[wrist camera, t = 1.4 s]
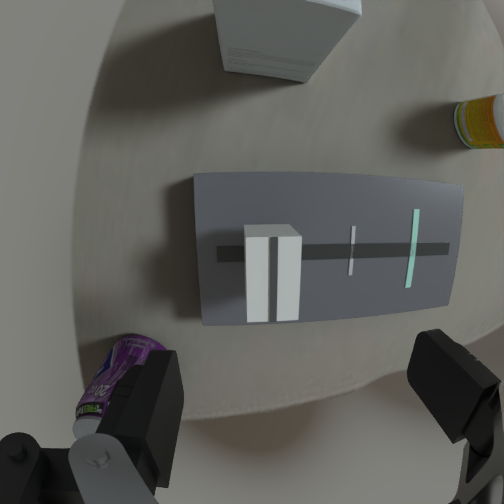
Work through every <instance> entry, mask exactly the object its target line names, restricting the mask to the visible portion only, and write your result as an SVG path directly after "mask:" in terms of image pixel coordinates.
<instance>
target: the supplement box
mask: <svg viewBox="0 0 504 504" xmlns="http://www.w3.org/2000/svg"><path fill="white" fill-rule="evenodd" d="M212 1H213V6H214V12H215V18H216V25H217V32H218V38H219V45H220V51H221V56H222V61H223V67H224V71H230V72H239V73H247V74H255V75H263V76H270V77H276V78H282V79H288V80H294V81H299V82H304V83H307V82H308V80H309V79H310V78H311V76H312V75H313V74H314V72H315V71H316V70H317V69H318V67H319V66H320V65H321V64H322V62H323V61H324V60H325V58H326V57H327V56H328V55H329V53H330V52H331V51H332V50H333V49H334V47H335V46H336V45H337V44H338V42H339V41H340V40H341V39H342V38H343V36H344V35H345V34H346V33H347V31H348V30H349V29H350V28H351V27H352V26H353V24H354V23H355V22H356V21H357V20H358V19H359V18H360V16H361V15H362V10H361V0H212Z"/></svg>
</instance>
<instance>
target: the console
mask: <svg viewBox="0 0 504 504" xmlns="http://www.w3.org/2000/svg"><path fill="white" fill-rule="evenodd" d="M463 200H464V186H462V185H455V184H448V183H440V182H433V181H424V180H415V179H406V178H395V177H384V176H371V175H357V174H339V173H314V172H221V173H197V174H194V204H195V227H196V246H197V262H198V277H199V290H200V302H201V313H202V324H203V326H215V325H257V324H279V323H297V322H312V321H325V320H337V319H348V318H358V317H367V316H376V315H385V314H393V313H401V312H408V311H415V310H422V309H429V308H435V307H441V306H447V305H448V304H449V299H450V295H451V290H452V285H453V280H454V275H455V269H456V263H457V257H458V250H459V243H460V235H461V225H462V214H463ZM260 224H289V225H291V226H292V227H293V228H294V229H295V230H296V231H297V232H298V233H299V234H300V235H301V236H302V249H301V276H300V297H299V316H298V320H288V321H277V322H270V321H268V322H247V312H246V299H245V259H244V225H260Z"/></svg>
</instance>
